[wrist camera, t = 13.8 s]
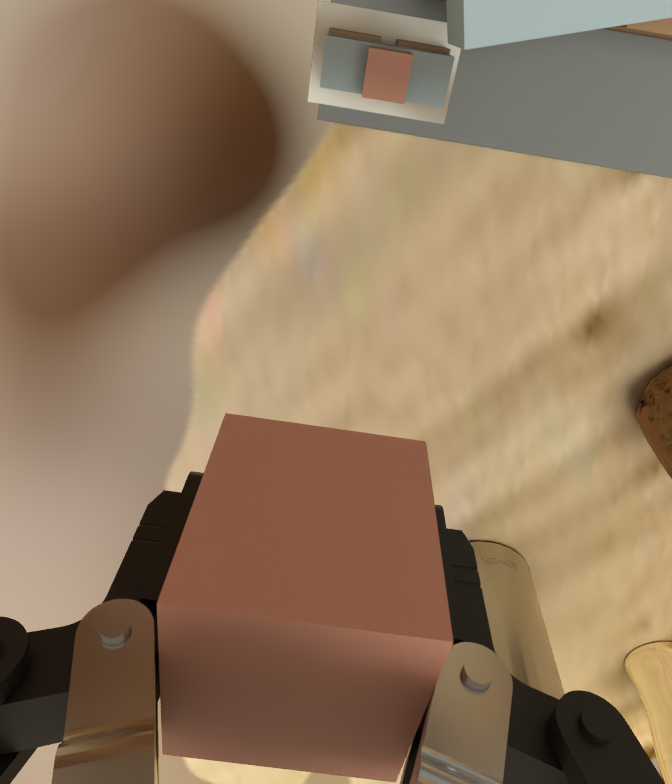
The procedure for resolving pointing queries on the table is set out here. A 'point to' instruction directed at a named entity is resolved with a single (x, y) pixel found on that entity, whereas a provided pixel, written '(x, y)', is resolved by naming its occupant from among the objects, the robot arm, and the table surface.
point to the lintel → (541, 18)
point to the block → (658, 417)
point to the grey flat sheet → (548, 97)
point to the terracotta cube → (304, 603)
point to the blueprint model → (382, 62)
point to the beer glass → (655, 696)
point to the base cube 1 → (648, 29)
